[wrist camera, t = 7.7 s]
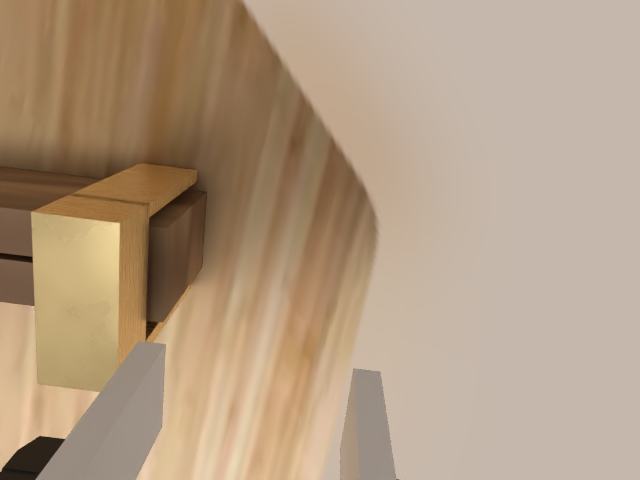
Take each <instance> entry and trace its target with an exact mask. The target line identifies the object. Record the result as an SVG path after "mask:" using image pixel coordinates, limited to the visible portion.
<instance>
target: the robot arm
mask: <svg viewBox="0 0 640 480" xmlns="http://www.w3.org/2000/svg"><path fill="white" fill-rule="evenodd" d="M165 347H166V344H159V343H151V342H143V341H138V343H137V344H136V345H135V347H134V348H133V349H132V351H131V352H130V353H129V355H128V356H127V357H126V359H125V360H124V361H123V363H122V364H121V365H120V367H119V368H118V369H117V371H116V372H115V373H114V375H113V376H112V377H111V379H110V380H109V382H108V383H107V384H106V386H105V387H104V388H103V390H102V391H101V392H100V394H99V395H98V396H97V398H96V399H95V400H94V402H93V403H92V404H91V406H90V407H89V408H88V410H87V411H86V412H85V414H84V415H83V416H82V418H81V419H80V420H79V422H78V423H77V425H76V426H75V427H74V429H73V430H72V431H71V433H70V434H69V435H68V437H67V438H66V439H59V438H51V437H43V436H39V437H38V438H36V439H35V440H33V441H31V442H30V443H28V444H27V445H25V446H24V447H22V448H21V449H19V450H18V451H17V452H16V453H15V454H14V455H13V456H12V458H11V459H10V460H9V461H8V462H7V464H6V465H5V466H4V467H3V468H2V471H1V472H0V480H136V478H137V476H138V474H139V472H140V470H141V468H142V466H143V464H144V462H145V460H146V458H147V456H148V454H149V452H150V450H151V448H152V446H153V444H154V442H155V440H156V438H157V436H158V434H159V432H160V430H161V428H162V415H163V393H164V370H165ZM340 475H341V476H340V477H341V478H340V480H397V479H396V475H395V468H394V461H393V455H392V448H391V441H390V434H389V427H388V421H387V414H386V407H385V400H384V394H383V387H382V380H381V373H380V372H378V371H370V370H361V369H353V375H352V381H351V387H350V393H349V399H348V405H347V411H346V417H345V423H344V429H343V436H342V441H341V448H340Z"/></svg>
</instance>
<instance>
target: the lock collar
mask: <svg viewBox="0 0 640 480" xmlns="http://www.w3.org/2000/svg"><path fill="white" fill-rule="evenodd" d="M197 172H198V170H193V169H185V168H177V167H170V166H162V165H154V164H147V163H139V164H137V165H135V166H132V167H130V168H128V169H126V170H124V171H121V172H119V173H117V174H115V175H112V176H110V177H108V178H106V179H103V180H101V181H99V182H97V183H94V184H92V185H90V186H88V187H85V188H83V189H81V190H79V191H77V192H74V193H72V194H70V195H68V196H65V197H63V198H61V199H59V200H56V201H54V202H52V203H50V204H47V205H45V206H43V207H41V208H38V209H36V210H34V211H32V212H31V222H32V249H33V275H34V301H35V328H36V354H37V380H38V384H41V385H49V386H57V387H65V388H73V389H81V390H89V391H96V392H101V391H102V390H103V388H104V387H105V386H106V384H107V383H108V382H109V380H110V379H111V377H112V376H113V375H114V373H115V372H116V371H117V369H118V368H119V367H120V365H121V364H122V363H123V361H124V360H125V359H126V357H127V356H128V355H129V353H130V352H131V351H132V349H133V348H134V347H135V345H136V344H137V343H138V341H143V342H151V343H153V342H154V340H155V339H156V337H157V336H158V334H159V333H160V331H161V330H162V329H163V327H164V326H165V324H166V323H167V321H168V320H169V318H170V317H171V315H172V314H173V312H174V311H175V310H176V308H177V307H178V305H179V304H180V302H181V301H182V299H183V298H184V296H185V295H186V294H187V292H188V291H189V289H190V288H191V283H190V285H189V286H188V288H187V289H186V291H185V292H184V293H183V295H182V296H181V298H180V299H179V301H178V302H177V303H176V305H175V306H174V308H173V309H172V311H171V312H170V313H169V315H168V316H167V318H166V319H165V321H164V322H155V321H147V320H146V306H147V274H148V242H149V217H151V216H152V215H153V214H155V213H156V212H157V211H159V210H160V209H161V208H163V207H164V206H165V205H166V204H168V203H169V202H170V201H172V200H173V199H174V198H176V197H177V196H178V195H180V194H181V193H182V192H184V191H185V190H186V189H187V188H189V187H190V186H191V185H193V184H194V183H195V182H197Z"/></svg>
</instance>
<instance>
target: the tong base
mask: <svg viewBox="0 0 640 480" xmlns="http://www.w3.org/2000/svg"><path fill="white" fill-rule="evenodd" d="M206 196H207V193H206V192H198V191H191V190H185V191H184V192H182V193H181V194H180V195H178V196H177V197H176V198H174V199H173V200H172V201H170V202H169V203H168V204H166V205H165V206H164V207H163V208H161V209H160V210H159V211H157V212H156V213H155V214H153V215H152V216H151V217H149V242H148V274H147V306H146V320H147V321H155V322H164V321H165V319H166V318H167V316H168V315H169V313H170V312H171V311H172V309H173V308H174V306H175V305H176V303H177V302H178V301H179V299H180V298H181V296H182V295H183V293H184V292H185V291H186V289H187V288H188V286H189V285H190V283H191V282H192V281H193V279H194V278H195V276H196V275H197V273H198V272H199V271H200V269H201V268H202V259H203V243H204V227H205V212H206ZM0 302H7V303H14V304H22V305H30V306H35V301H34V275H33V257H31V256H23V255H15V254H7V253H0Z"/></svg>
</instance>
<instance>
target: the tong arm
mask: <svg viewBox="0 0 640 480" xmlns="http://www.w3.org/2000/svg"><path fill="white" fill-rule="evenodd" d="M101 180H103V179H97V178H89V177H81V176H73V175H65V174H57V173H48V172H40V171H32V170H24V169H16V168H8V167H0V253H7V254H15V255H23V256H31V257H33V249H32V222H31V212H32V211H34V210H36V209H38V208H41V207H43V206H45V205H47V204H50V203H52V202H54V201H56V200H59V199H61V198H63V197H65V196H68V195H70V194H72V193H74V192H77V191H79V190H81V189H83V188H85V187H88V186H90V185H92V184H94V183H97V182H99V181H101Z"/></svg>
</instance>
